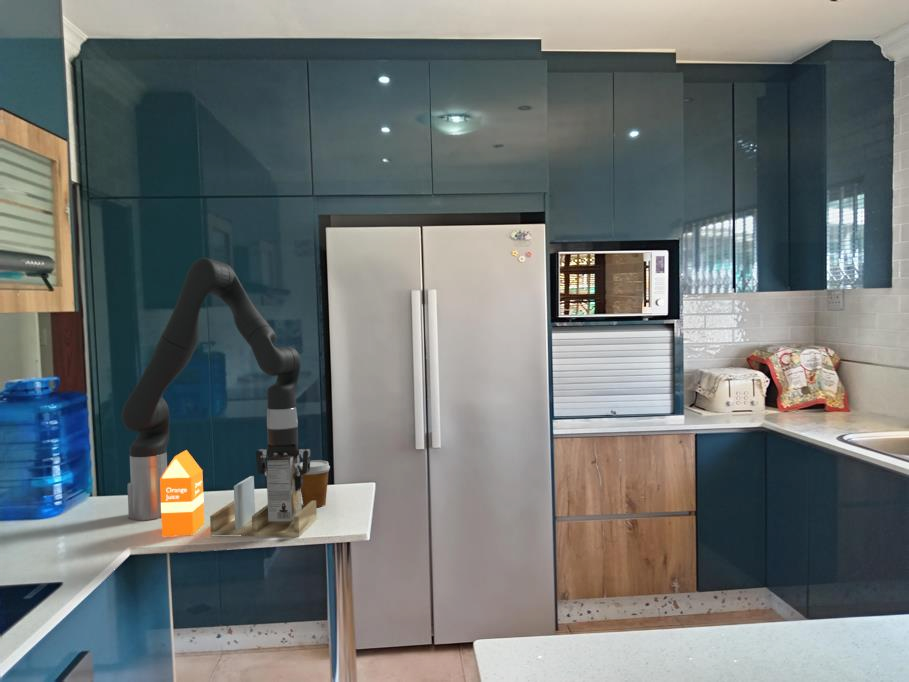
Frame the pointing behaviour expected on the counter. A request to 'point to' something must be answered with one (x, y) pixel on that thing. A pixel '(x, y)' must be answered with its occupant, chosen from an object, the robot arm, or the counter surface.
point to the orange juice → (182, 496)
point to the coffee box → (282, 488)
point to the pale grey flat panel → (244, 502)
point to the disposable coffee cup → (315, 483)
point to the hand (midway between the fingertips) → (284, 489)
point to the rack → (262, 522)
